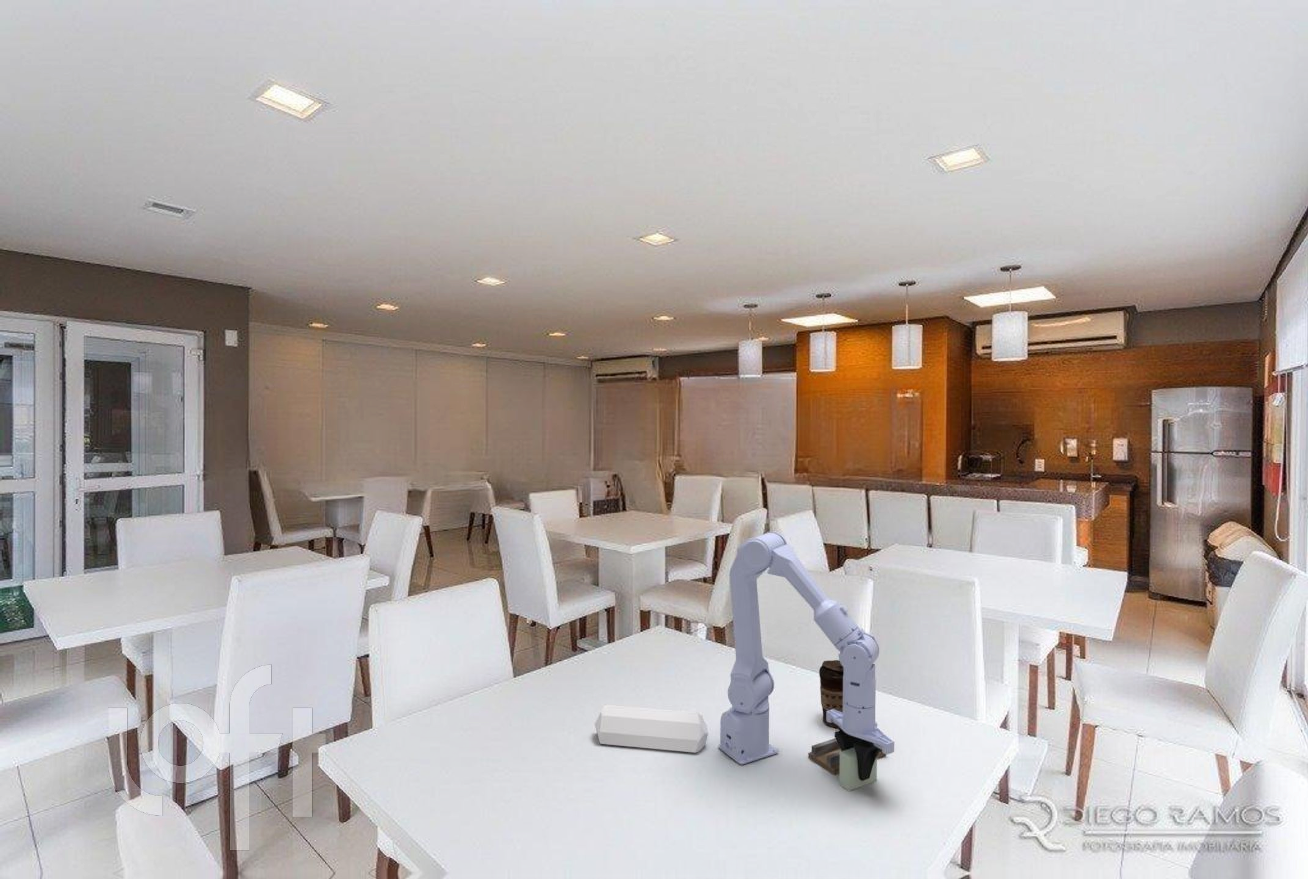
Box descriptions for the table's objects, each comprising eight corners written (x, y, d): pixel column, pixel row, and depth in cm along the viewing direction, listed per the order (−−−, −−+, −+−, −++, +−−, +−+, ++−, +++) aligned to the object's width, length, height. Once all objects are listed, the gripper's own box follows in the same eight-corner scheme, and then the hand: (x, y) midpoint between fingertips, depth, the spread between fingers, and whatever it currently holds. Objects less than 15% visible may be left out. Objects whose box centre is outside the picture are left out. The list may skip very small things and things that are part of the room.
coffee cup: (849, 736, 136) (849, 675, 136) (811, 724, 141) (812, 666, 141) (863, 720, 143) (864, 662, 143) (827, 710, 148) (828, 654, 148)
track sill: (834, 774, 121) (834, 753, 121) (808, 757, 128) (808, 737, 127) (886, 755, 128) (886, 736, 128) (859, 740, 134) (859, 721, 134)
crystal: (587, 731, 131) (705, 742, 126) (595, 700, 137) (708, 710, 132) (592, 753, 134) (707, 764, 130) (600, 722, 140) (710, 732, 136)
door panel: (849, 790, 116) (849, 758, 116) (839, 784, 118) (839, 752, 118) (876, 780, 120) (876, 748, 119) (866, 774, 122) (866, 742, 122)
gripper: (906, 712, 114) (905, 788, 115) (845, 683, 127) (844, 751, 127) (878, 721, 111) (877, 799, 111) (818, 690, 123) (817, 760, 124)
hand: (858, 774), depth 119 cm, fingers closed on door panel, 2 cm apart
